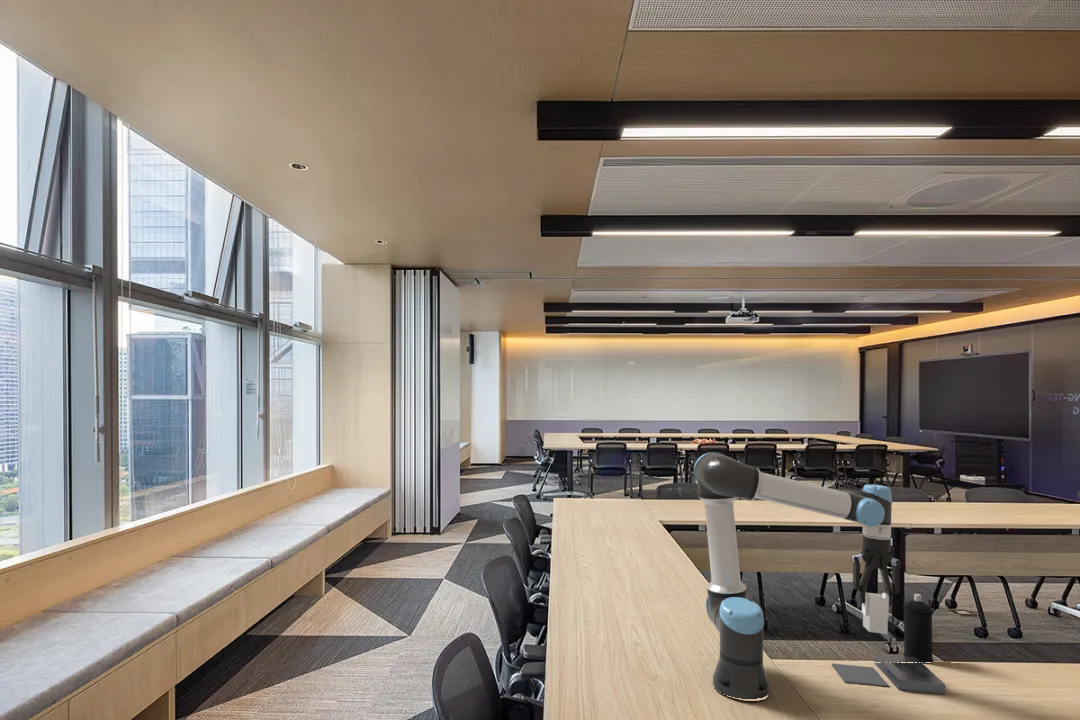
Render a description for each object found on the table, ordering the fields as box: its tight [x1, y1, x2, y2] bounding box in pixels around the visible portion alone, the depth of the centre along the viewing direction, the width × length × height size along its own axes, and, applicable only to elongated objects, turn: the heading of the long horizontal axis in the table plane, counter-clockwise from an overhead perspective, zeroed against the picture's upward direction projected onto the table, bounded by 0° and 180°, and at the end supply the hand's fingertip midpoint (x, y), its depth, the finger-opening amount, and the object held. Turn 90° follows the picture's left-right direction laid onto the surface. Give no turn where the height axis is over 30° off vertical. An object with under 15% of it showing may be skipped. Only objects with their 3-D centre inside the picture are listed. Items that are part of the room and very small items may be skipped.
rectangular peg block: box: [862, 592, 889, 635], centre depth 181 cm, size 5×5×10 cm
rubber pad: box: [830, 663, 890, 688], centre depth 180 cm, size 12×12×1 cm
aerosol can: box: [902, 593, 934, 663], centre depth 195 cm, size 8×8×20 cm
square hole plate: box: [873, 652, 946, 696], centre depth 179 cm, size 12×18×3 cm, turn 171°
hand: (875, 615), depth 181 cm, fingers closed on rectangular peg block, 5 cm apart
